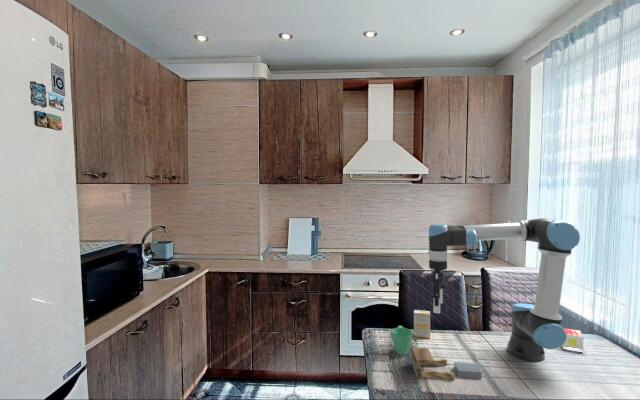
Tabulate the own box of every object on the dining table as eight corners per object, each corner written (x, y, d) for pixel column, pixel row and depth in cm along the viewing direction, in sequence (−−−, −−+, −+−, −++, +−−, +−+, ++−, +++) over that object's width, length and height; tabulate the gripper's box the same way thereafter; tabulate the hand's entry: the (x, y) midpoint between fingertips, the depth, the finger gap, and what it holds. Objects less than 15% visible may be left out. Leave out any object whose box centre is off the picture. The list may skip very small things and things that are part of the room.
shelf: (446, 363, 146) (446, 347, 146) (455, 380, 133) (455, 363, 133) (411, 362, 148) (412, 346, 147) (417, 378, 135) (417, 361, 134)
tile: (475, 370, 142) (475, 363, 142) (481, 379, 135) (481, 372, 135) (454, 368, 143) (454, 362, 143) (458, 377, 136) (458, 370, 136)
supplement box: (430, 335, 175) (430, 310, 175) (430, 339, 171) (430, 314, 170) (414, 333, 178) (414, 309, 178) (413, 336, 173) (413, 312, 173)
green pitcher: (414, 358, 151) (414, 336, 151) (392, 357, 152) (392, 335, 152) (409, 343, 166) (409, 324, 165) (389, 342, 167) (389, 323, 166)
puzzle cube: (562, 349, 159) (562, 333, 159) (560, 343, 166) (560, 327, 166) (583, 353, 155) (583, 336, 155) (579, 346, 162) (580, 330, 162)
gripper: (431, 254, 157) (432, 298, 158) (425, 265, 135) (426, 316, 135) (448, 255, 154) (448, 300, 155) (445, 266, 132) (445, 319, 132)
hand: (438, 307), depth 145 cm, fingers open, 13 cm apart
